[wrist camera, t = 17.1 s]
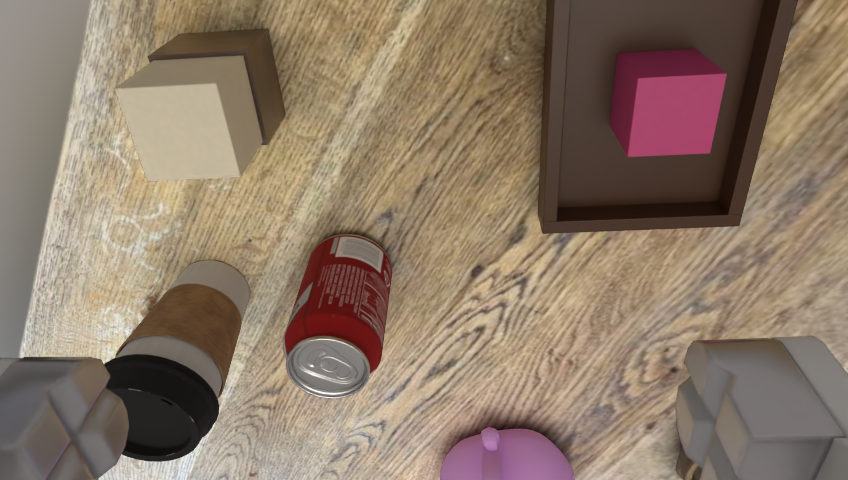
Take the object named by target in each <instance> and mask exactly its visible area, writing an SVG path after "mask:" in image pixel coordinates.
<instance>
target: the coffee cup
mask: <svg viewBox="0 0 848 480" xmlns="http://www.w3.org/2000/svg"><path fill="white" fill-rule="evenodd" d="M249 298H250V290H249V286H248V283H247V281H246V280H245V278H244V277H243V275H242V274H241V273H240V272H239V271H237V270H236V269H235V268H233V267H232V266H230V265H228V264H225V263H222V262H219V261H214V260H203V261H198V262H195V263H193V264H191V265H189V266H188V267H187V268H186V269H185V270H184V271H183V272H182V273H181V274H180V276H179V277H178V278H177V280H176V281H175V282H174V283H173V285H172V286H171V287H170V289H169V290H168V291H167V292H166V293H165V294H164V295H163V297H162V298H161V299H160V300H159V301H158V302H157V304H156V305H155V306H154V307H153V308H152V310H151V311H150V312H149V313H148V314H147V316H146V317H145V318H144V319H143V320H142V322H141V323H140V324H139V325H138V326H137V328H136V329H135V330H134V331H133V332H132V334H131V335H130V336H129V337H128V338H127V340H126V341H125V342H124V343H123V344H122V346H121V347H120V348H119V350H118V352H117V353H116V357H115V358H114V359H112V360H110V361H109V362H107V363H105V364H104V366H105V367H106V369H107V371H108V373H109V375H110V379H109V381H108V383H107V385H106V388H107V389H108V390H110V391H111V392H113V393H114V394H116V395H117V396H119V397H120V398H121V399H122V401H123V403H124V405H125V407H126V410H127V414H128V421H129V429H128V434H127V440H126V445H125V448H124V450H123V452H122V455H125V456H127V457H131V458H134V459H138V460H144V461H159V462H160V461H169V460H174V459H177V458H180V457H183V456H185V455H187V454H189V453H190V452H192V451H193V450H194V449H195V448H196V446H197V445H198V444H199V442H200V440H201V439H202V437H204V436H205V435H206V434H207V433H208V432H209V431H210V429H211V428H212V426H213V424H214V423H215V422H216V420H217V417H218V414H219V403H218V398H219V397H220V396H221V394H222V392H223V389H224V386H225V382H226V379H227V375H228V371H229V368H230V364H231V361H232V357H233V354H234V350H235V347H236V343H237V339H238V336H239V332H240V329H241V323H242V320H243V317H244V314H245V311H246V308H247V305H248V301H249Z"/></svg>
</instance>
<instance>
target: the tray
mask: <svg viewBox="0 0 848 480" xmlns="http://www.w3.org/2000/svg"><path fill="white" fill-rule="evenodd" d="M797 2H798V0H547V13H546V36H545V60H544V83H543V106H542V129H541V152H540V175H539V198H538V217H539V221H540V225H541V229H542V233H543V234H546V233H572V232H598V231H624V230H650V229H676V228H702V227H728V226H739V225H740V221H741V217H742V214H743V210H744V206H745V202H746V198H747V194H748V191H749V187H750V183H751V179H752V175H753V171H754V167H755V164H756V160H757V156H758V152H759V148H760V144H761V140H762V137H763V133H764V129H765V125H766V121H767V117H768V113H769V110H770V106H771V102H772V98H773V94H774V90H775V86H776V83H777V79H778V75H779V71H780V67H781V63H782V59H783V56H784V52H785V48H786V44H787V40H788V36H789V32H790V29H791V25H792V21H793V17H794V13H795V9H796V5H797ZM685 49H697V50H699V51H700V52H701V53H702V54H703V55H705V56H706V57H707V58H708V59H710V60H711V61H712V62H713V63H715V64H716V65H717V66H718V67H719V68H721V69H722V70H723V71H724V72H726V73H727V76H726V81H725V85H724V90H723V95H722V99H721V104H720V109H719V114H718V118H717V123H716V128H715V132H714V137H713V142H712V147H711V151H710V153H707V154H684V155H662V156H640V157H627V155H626V153H625V152H624V150H623V148H622V146H621V145H620V143H619V141H618V140H617V138H616V136H615V134H614V133H613V131H612V129H611V127H610V126H609V125H610V116H611V107H612V98H613V89H614V80H615V71H616V62H617V54H618V53H631V52H649V51H667V50H685Z"/></svg>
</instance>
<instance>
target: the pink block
mask: <svg viewBox="0 0 848 480" xmlns="http://www.w3.org/2000/svg"><path fill="white" fill-rule="evenodd" d="M726 76H727V73H726V72H724V71H723V70H722V69H721V68H719V67H718V66H717V65H716V64H715V63H713V62H712V61H711V60H710V59H708V58H707V57H706V56H705V55H703V54H702V53H701V52H700V51H699V50H697V49H685V50H667V51H649V52H631V53H618V54H617V62H616V71H615V80H614V89H613V98H612V107H611V116H610V125H609V126H610V127H611V129H612V131H613V133H614V134H615V136H616V138H617V140H618V141H619V143H620V145H621V146H622V148H623V150H624V152H625V153H626V155H627V157H640V156H662V155H684V154H707V153H710V151H711V147H712V142H713V137H714V132H715V128H716V123H717V118H718V114H719V109H720V104H721V99H722V95H723V90H724V85H725V81H726Z"/></svg>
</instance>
